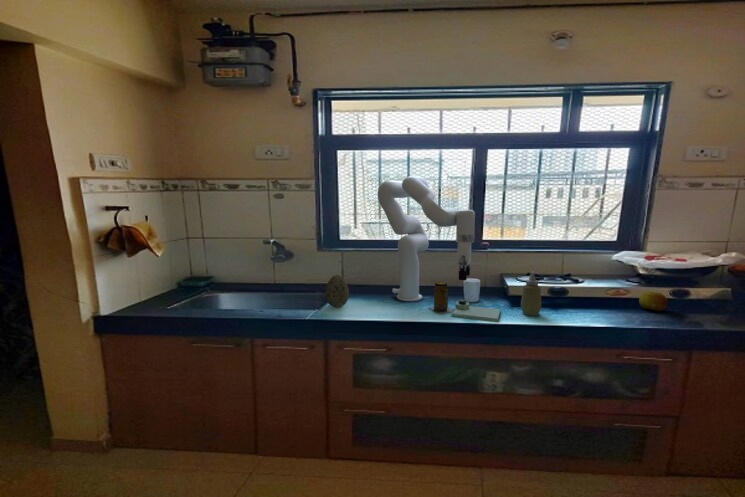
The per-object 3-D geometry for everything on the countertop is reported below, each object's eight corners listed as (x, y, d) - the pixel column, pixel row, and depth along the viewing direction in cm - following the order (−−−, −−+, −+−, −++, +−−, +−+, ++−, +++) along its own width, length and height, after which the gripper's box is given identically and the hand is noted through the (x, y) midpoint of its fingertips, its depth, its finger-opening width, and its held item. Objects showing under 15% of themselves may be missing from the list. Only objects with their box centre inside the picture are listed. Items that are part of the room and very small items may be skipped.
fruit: (663, 308, 152) (665, 290, 151) (669, 314, 144) (671, 295, 143) (636, 306, 157) (638, 288, 156) (640, 311, 149) (642, 293, 148)
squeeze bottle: (532, 318, 143) (534, 274, 140) (516, 312, 150) (517, 271, 147) (545, 315, 146) (547, 272, 144) (529, 309, 153) (530, 269, 151)
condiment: (442, 306, 160) (442, 280, 159) (454, 311, 153) (454, 284, 151) (429, 308, 157) (429, 282, 156) (440, 313, 150) (441, 286, 148)
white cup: (478, 298, 173) (478, 278, 171) (481, 302, 165) (482, 282, 164) (461, 298, 173) (462, 278, 172) (464, 302, 166) (464, 281, 164)
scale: (451, 316, 146) (451, 309, 146) (456, 307, 158) (456, 301, 158) (497, 321, 139) (498, 314, 139) (500, 312, 151) (500, 305, 150)
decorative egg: (344, 302, 168) (343, 272, 166) (352, 308, 159) (352, 276, 157) (322, 305, 164) (321, 274, 162) (330, 312, 154) (329, 278, 152)
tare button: (458, 304, 153) (458, 301, 153) (459, 303, 156) (459, 299, 156) (465, 305, 152) (465, 301, 152) (466, 303, 155) (466, 299, 155)
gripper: (459, 236, 160) (458, 273, 162) (452, 240, 144) (451, 281, 146) (476, 236, 157) (475, 274, 159) (471, 241, 141) (470, 282, 143)
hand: (464, 277), depth 152 cm, fingers open, 9 cm apart
